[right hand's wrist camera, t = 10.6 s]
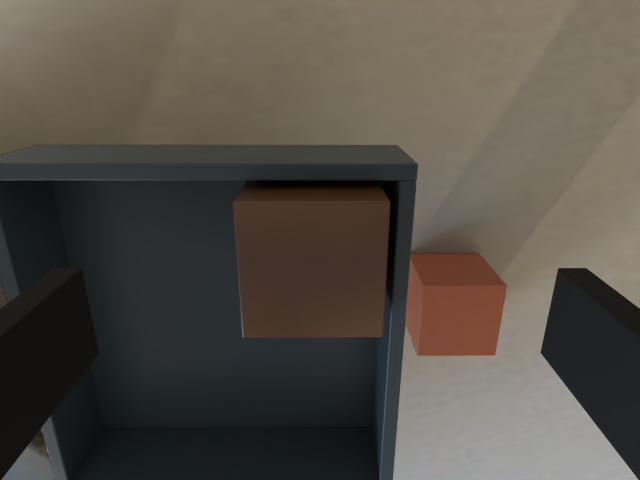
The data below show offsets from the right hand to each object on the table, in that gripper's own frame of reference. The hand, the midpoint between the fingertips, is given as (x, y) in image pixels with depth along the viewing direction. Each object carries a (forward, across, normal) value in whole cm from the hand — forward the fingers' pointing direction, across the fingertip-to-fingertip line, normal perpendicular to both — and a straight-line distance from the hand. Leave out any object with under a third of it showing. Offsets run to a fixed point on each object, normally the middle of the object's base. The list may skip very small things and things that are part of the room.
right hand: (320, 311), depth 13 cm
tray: (+8, +4, +10) cm, 13 cm away
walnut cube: (+7, 0, 0) cm, 8 cm away
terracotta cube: (+18, -9, +8) cm, 22 cm away
